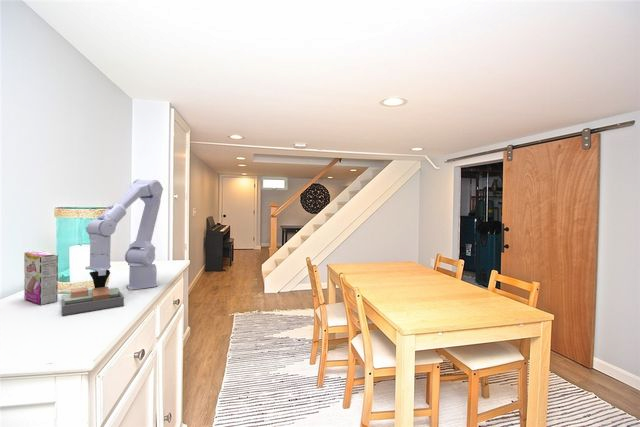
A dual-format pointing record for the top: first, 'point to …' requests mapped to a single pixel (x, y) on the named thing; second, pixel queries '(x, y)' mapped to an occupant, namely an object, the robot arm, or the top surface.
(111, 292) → the board
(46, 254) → the candy bar box
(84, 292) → the tile
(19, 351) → the top surface
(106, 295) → the tile
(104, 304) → the tray
